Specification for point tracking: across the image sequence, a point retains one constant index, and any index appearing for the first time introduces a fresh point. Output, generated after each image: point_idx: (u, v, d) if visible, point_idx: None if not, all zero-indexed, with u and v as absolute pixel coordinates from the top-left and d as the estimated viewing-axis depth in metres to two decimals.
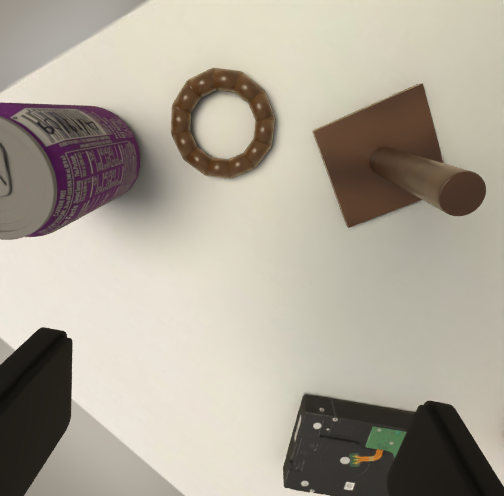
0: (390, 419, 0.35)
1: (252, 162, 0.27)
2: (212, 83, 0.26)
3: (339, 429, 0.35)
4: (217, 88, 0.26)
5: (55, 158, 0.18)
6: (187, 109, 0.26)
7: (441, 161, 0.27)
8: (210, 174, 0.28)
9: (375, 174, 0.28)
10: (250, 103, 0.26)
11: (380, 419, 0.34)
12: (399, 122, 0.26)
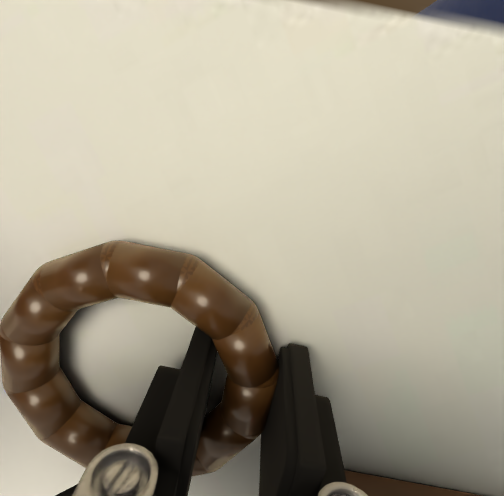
0: None
1: None
2: (167, 301, 0.09)
3: None
4: None
5: None
6: (69, 308, 0.09)
7: None
8: None
9: None
10: (230, 383, 0.10)
11: None
12: None
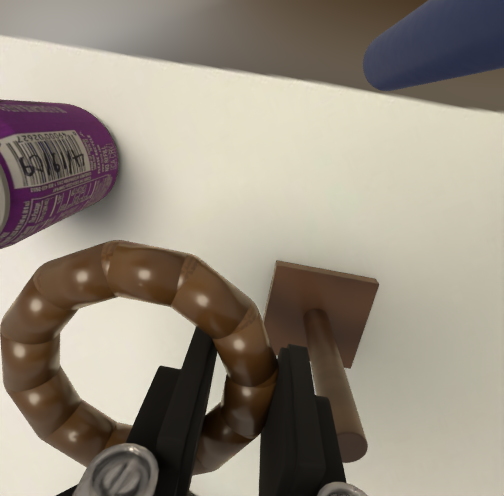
0: None
1: None
2: (167, 300, 0.09)
3: None
4: None
5: (17, 203, 0.16)
6: (69, 307, 0.09)
7: (357, 346, 0.30)
8: None
9: (303, 325, 0.29)
10: (230, 383, 0.10)
11: None
12: (345, 300, 0.28)
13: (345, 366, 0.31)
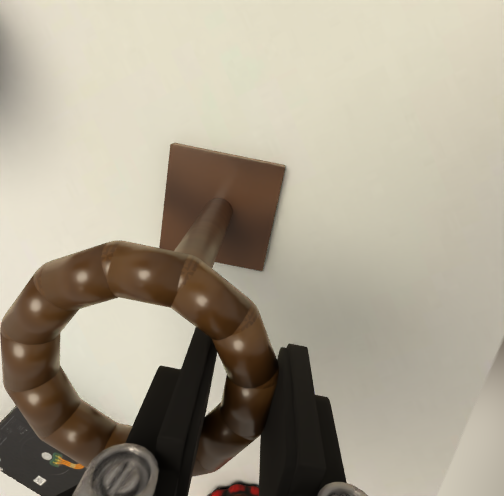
0: None
1: None
2: (167, 301, 0.09)
3: None
4: (175, 307, 0.09)
5: None
6: (69, 307, 0.09)
7: (266, 243, 0.27)
8: None
9: None
10: (230, 384, 0.10)
11: None
12: (249, 187, 0.26)
13: (256, 268, 0.28)
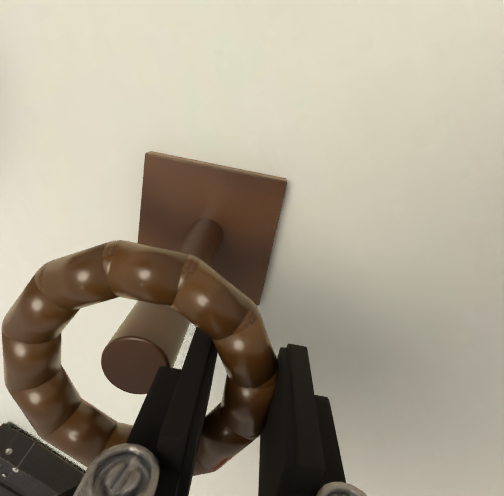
0: None
1: None
2: (167, 301, 0.09)
3: (17, 481, 0.28)
4: None
5: None
6: (70, 307, 0.09)
7: (264, 273, 0.22)
8: None
9: None
10: (230, 383, 0.10)
11: None
12: (242, 206, 0.21)
13: None
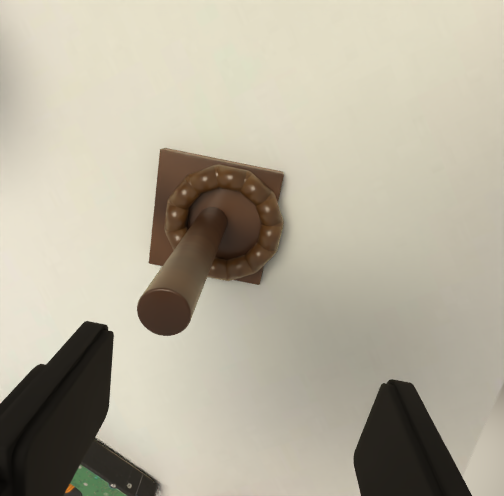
0: (99, 461, 0.32)
1: (229, 276, 0.24)
2: (240, 187, 0.22)
3: None
4: (241, 192, 0.23)
5: None
6: (199, 191, 0.23)
7: None
8: None
9: None
10: (263, 226, 0.23)
11: (88, 456, 0.31)
12: None
13: (253, 282, 0.26)
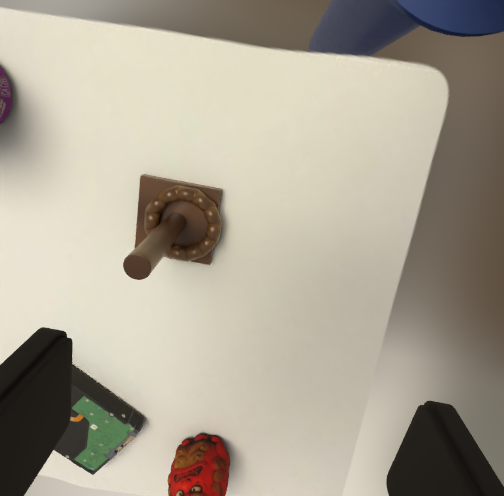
0: (101, 397, 0.44)
1: (187, 258, 0.37)
2: (191, 199, 0.35)
3: None
4: (193, 202, 0.35)
5: None
6: (165, 202, 0.35)
7: None
8: None
9: None
10: (208, 225, 0.36)
11: (93, 393, 0.44)
12: None
13: (205, 262, 0.38)
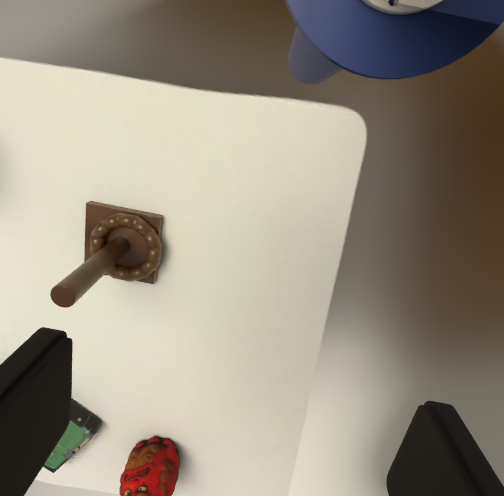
0: None
1: (131, 279, 0.40)
2: (131, 226, 0.38)
3: None
4: (134, 228, 0.38)
5: None
6: (108, 228, 0.38)
7: None
8: None
9: None
10: (148, 249, 0.39)
11: None
12: None
13: (149, 282, 0.41)
